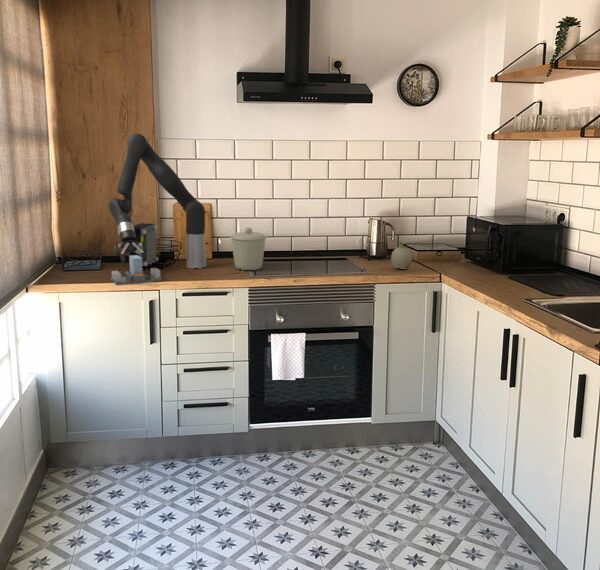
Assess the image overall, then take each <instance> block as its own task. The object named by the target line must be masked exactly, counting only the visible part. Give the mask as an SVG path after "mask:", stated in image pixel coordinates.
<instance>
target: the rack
mask: <svg viewBox="0 0 600 570" xmlns="http://www.w3.org/2000/svg"><path fill="white" fill-rule="evenodd" d="M111 280H112V281H113V282H114V283H115V284H114V283H113V282H112V281H111ZM159 280H162V281H163V278H162V277H161V270H159V268H157V267H150V274H147V273H145V272H144V271H143V274H134V276H132V275H131V274H130V270H127V271H126V270H125V276H122V274H121V272H120V271H118V270H111V277H110V281H111V282H112V283H113V284H114V285H116V286H122V285H123V286H125V285H132V284H133V285H134V284H144V283H143V282H148V283H150V282H149V281H159ZM159 282H160V281H159Z"/></svg>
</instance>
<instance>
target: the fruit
mask: <svg viewBox="0 0 600 570" xmlns="http://www.w3.org/2000/svg"><path fill="white" fill-rule="evenodd" d="M397 243H398V244H397V246H396V247H395V248H394V249H393V251H392V252H391V256H390V257H391V258H390V261H391V264H392V265H393V267H394V268H395V267H396V268H395V269H397V268H407V269H408V268H409V267H410V266H411V264H412V261H413V255H412V252H411V250H410V249H409V248H407V247H404V243H403V242H401V241H398V242H397ZM400 245H401V246H400Z"/></svg>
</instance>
